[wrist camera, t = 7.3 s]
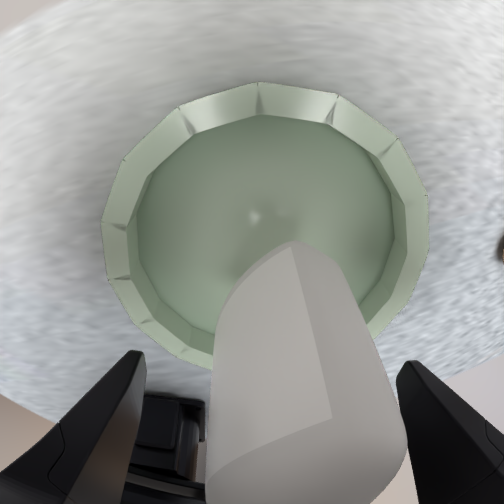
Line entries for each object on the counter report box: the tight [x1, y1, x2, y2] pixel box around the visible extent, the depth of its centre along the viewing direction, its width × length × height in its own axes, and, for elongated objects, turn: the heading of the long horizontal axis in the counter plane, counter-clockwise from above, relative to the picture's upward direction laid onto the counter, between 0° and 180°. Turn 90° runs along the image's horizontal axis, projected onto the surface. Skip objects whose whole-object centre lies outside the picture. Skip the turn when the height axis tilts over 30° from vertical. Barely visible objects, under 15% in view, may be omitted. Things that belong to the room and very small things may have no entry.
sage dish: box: [101, 82, 429, 370], centre depth 15 cm, size 15×15×2 cm
